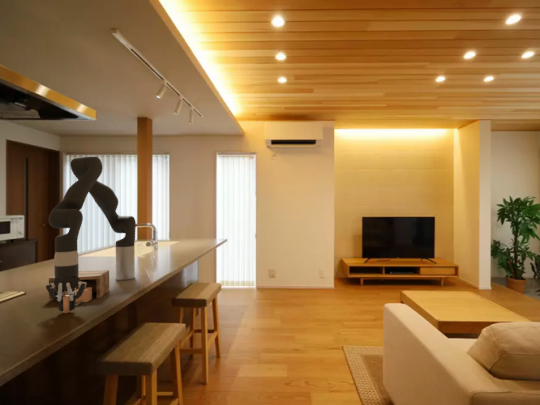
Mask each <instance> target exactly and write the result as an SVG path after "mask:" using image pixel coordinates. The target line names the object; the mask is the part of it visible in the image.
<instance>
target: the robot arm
mask: <svg viewBox="0 0 540 405" xmlns="http://www.w3.org/2000/svg"><path fill="white" fill-rule="evenodd" d="M103 167H104V166H103V162H102V161H101V159H100V157H99V156H96V155H87V156H79V157H74V158H72V159H71V161H70V170H71V172H72V173H73V175H74V176H75V178H76V179H77V180H76V181H75V182H74V183H72V184H71V185H70V186H69V187H68V189H67V191H66V192H65V194H64V195H63V196H64V197H63V198H62V200H60V201H59V203H58V204H57V205H55V207H54V208H53V209H52V210H51V211H50V213H49V215H48V220H47V221H48V223H49V226H50V227H52V228H53V229H68V232H67V233H65V234H59V235H57V236H56V237H55V238H54V259H53V260H54V261H53V265H54V268H53V269H54V276H55V280H54V282H53V283H51V284H49V283H48V284H47V285H45V288H46V290H47V292H48V295H49V294H50V296H51V298H52V299H53V301H55V300H56V301H57V303H58V306H57V307H58V310H59V312H63V296H65V292H66V291H68V295H69V297H70V301H69V303H70V311H71V312H72V311H74V310H75V309H76V307H77V306H76V299H78V298H79V297H81V295H82V293H83V291H84V289H85V287H86V285H87V282H82V281H80V279H79V277H78V275H79V271H80V270H79V269H80V268H79V267H80V266H79V265H80V264H79V253H78V252H79V251H78V241H79V240H78V239H79V233H80V230H81V227H82V223H83V220H84V217H83V215H84V214H83V213H82V211H81V209H82V208H83V207H84V204H85V201H86V198H87V196H88V194H90V195H91V197H92V198H93V200H94V202H95V203H96V205H97V206H98V208H99V209H100V210H101V212H102V213H103V214H104V216H105V218H106V219H107V222H108V224H109V226H110V227H111V229H112V231H113V232H114V233H116V234H124V237H123V238H121V239H118V240H116V241H115V279H116V280H118V281H123V280H124V281H125V280H132V279H135V277H136V274H135V273H136V271H135V270H136V269H135V268H136V267H135V265H136V264H135V263H136V260H135V258H136V257H135V256H136V255H135V253H136V252H135V250H136V248H135V242H136V222H137V221H136V219H135V217H134V216H133V215H119V214H118V213H117V208H118V205H119V199H118V197H117V195H116V193H115V192H114V191H113V189H112V188H111V187H109V186H108V185H106V184H104V183H102V182H100V181H99V180H98V179H99V178H100V176H101V175H102V173H103ZM78 284H79V290H78V292H77V294H76V288H75V287H76V286H77V285H78ZM55 286H56V287H57V288H58V293H57V291H56V290H55Z"/></svg>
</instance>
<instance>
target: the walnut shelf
mask: <svg viewBox="0 0 540 405" xmlns="http://www.w3.org/2000/svg"><path fill="white" fill-rule="evenodd" d="M78 277H79V279H80V281H82V282H87V285H86V287H92V293H96V299H101V298H102V297H104V296H105V295H106V294H107V293H109V291H110V270H109V269H105V270H83V271H82V270H81V271H80V270H79V275H78ZM54 280H55V275H53V276H51V277H49V278H48V284H51V283H53V282H54ZM75 288H76V290H77V289H78V288H79V284H78V285H77V286H76V287H75ZM55 290H56V291H57V293H58V288H57V287H56V286H55ZM105 293H106V294H105ZM100 297H101V298H100ZM48 301H49V302H51V301H52V302H53V301H54V300H53V299H52V298H51V296H50V294H49V293H48Z"/></svg>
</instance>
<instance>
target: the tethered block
mask: <svg viewBox="0 0 540 405" xmlns="http://www.w3.org/2000/svg"><path fill="white" fill-rule="evenodd" d="M78 290H79V288H78V289H77V290H76V294H77V292H78ZM92 299H93V292H92V287H85V289H84V291H83V293H82V295H81V297H79V298H78V299H76V307H78V306H79V305H80V304H82V303H88V302H89V301H91V300H92ZM69 301H70V297H69V295H65V296H63V311H62V313H63V314H69V313H71V312H72V311H70V303H69Z"/></svg>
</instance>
